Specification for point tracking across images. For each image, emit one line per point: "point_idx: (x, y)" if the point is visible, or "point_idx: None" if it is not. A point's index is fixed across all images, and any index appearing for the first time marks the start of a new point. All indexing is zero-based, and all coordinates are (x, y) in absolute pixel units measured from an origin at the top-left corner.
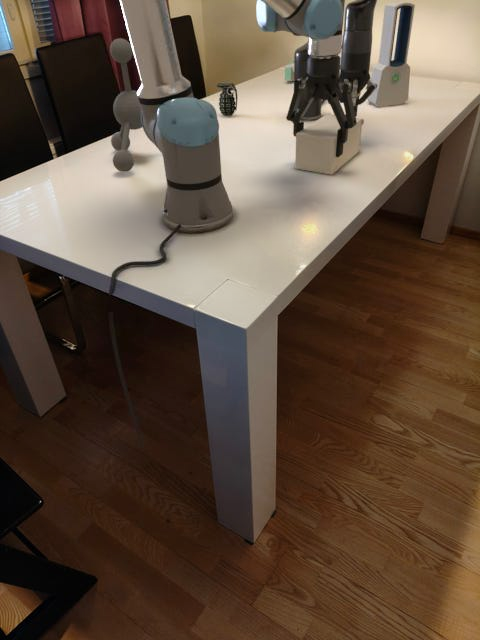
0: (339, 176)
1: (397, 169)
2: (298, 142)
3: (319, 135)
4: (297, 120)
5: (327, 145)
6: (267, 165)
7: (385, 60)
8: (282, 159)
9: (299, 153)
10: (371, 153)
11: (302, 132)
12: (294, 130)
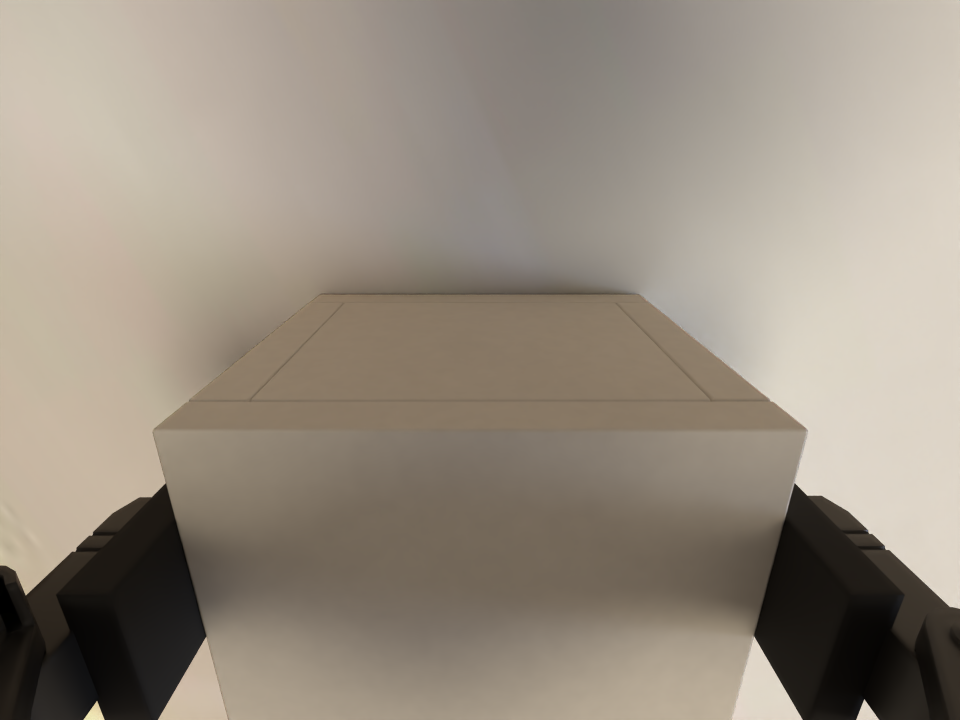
0: (254, 293)
1: (9, 551)
2: (705, 377)
3: (431, 484)
4: (954, 670)
5: (293, 382)
6: (889, 264)
7: None
8: (800, 423)
9: (643, 333)
10: None
11: (724, 509)
12: (867, 548)
